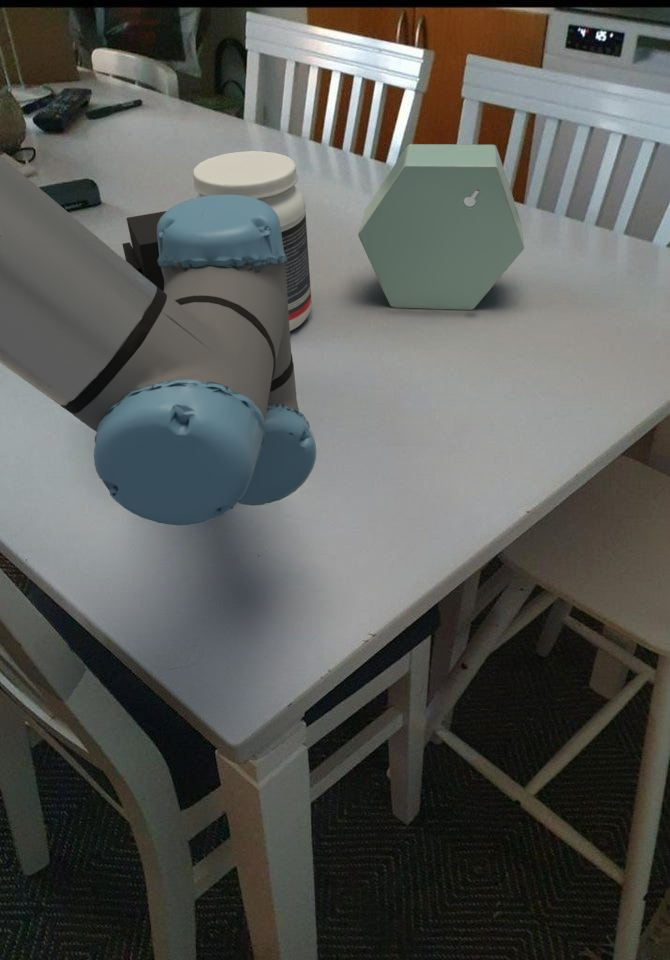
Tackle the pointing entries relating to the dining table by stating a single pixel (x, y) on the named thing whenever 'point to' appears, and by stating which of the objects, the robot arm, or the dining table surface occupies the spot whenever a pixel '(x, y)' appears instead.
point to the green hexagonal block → (442, 227)
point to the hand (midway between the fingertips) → (157, 250)
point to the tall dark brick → (147, 245)
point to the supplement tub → (275, 186)
